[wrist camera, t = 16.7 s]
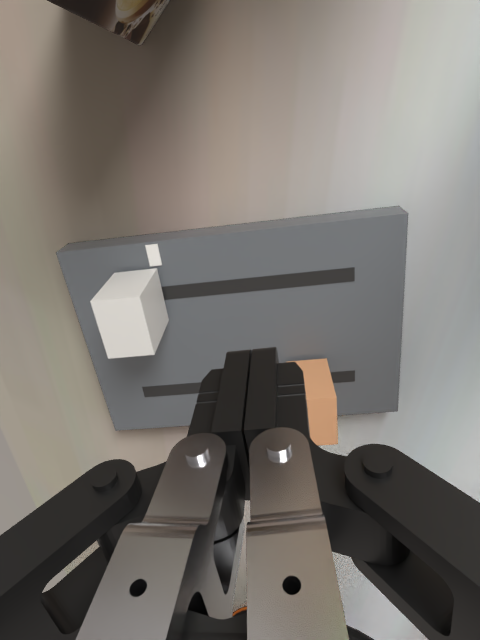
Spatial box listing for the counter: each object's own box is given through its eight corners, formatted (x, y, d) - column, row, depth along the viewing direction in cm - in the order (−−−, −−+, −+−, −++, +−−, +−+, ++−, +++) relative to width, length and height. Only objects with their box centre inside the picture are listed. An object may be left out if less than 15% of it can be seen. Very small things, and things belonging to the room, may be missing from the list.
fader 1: (157, 268, 35) (139, 296, 30) (168, 320, 37) (154, 354, 32) (114, 272, 35) (90, 301, 30) (128, 324, 37) (108, 358, 32)
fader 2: (326, 358, 38) (336, 397, 33) (328, 401, 40) (337, 444, 35) (286, 361, 38) (289, 400, 33) (289, 404, 40) (294, 446, 35)
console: (398, 205, 34) (408, 213, 32) (390, 395, 43) (397, 412, 41) (68, 243, 37) (55, 252, 35) (122, 414, 46) (115, 431, 43)
